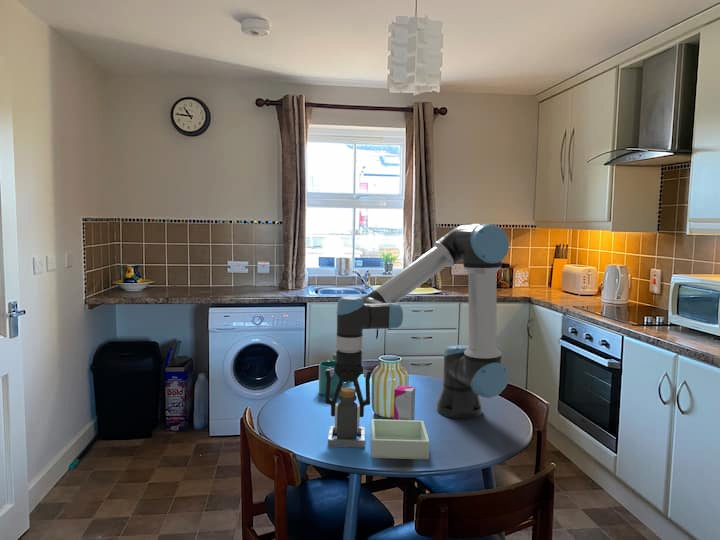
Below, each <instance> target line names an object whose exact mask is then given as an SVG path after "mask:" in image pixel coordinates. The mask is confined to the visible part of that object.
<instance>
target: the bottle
mask: <svg viewBox="0 0 720 540" xmlns="http://www.w3.org/2000/svg"><path fill="white" fill-rule="evenodd" d="M340 393H341V394H340V395H338V399H339V401H340V402H339V403H337V404H338V416H337V434H336V438H337V439H358V438H357V437H358V434H357V403H356V402H355V401H357V393H356V390H355V388H353V387H343V388H342V389H340Z"/></svg>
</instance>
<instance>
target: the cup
mask: <svg viewBox="0 0 720 540" xmlns="http://www.w3.org/2000/svg"><path fill="white" fill-rule="evenodd" d="M318 365H319V366H318V393H319V394H320V395H322V396H323V397H324V396H326V384H327V377H326V374H325V372H326V369H332V368H334V367H335V365H336V361H333V360H324V361H321V362H319V364H318ZM338 381H339V377H338V376H337V374H336V373H335V372H334V373H333V376H332V377H331V390H330V397H333V396H334V393H335V390H336V387H337V384H338ZM350 383H351V382H349V381H347V382H346V383H343V384H342V386H341V389H342V388H344V387H346V386H348V385H349V384H350ZM340 395H341V393H340V392H339V395H338V396H340Z"/></svg>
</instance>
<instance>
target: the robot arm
mask: <svg viewBox="0 0 720 540" xmlns="http://www.w3.org/2000/svg"><path fill="white" fill-rule="evenodd" d="M509 248H510V243H509V239H508V236H507V234H506V232H505V231H504V229H502V228H501V227H500V226H498V225H495V224H490V223H464V224H461V225H459V226H456V227H455V228H453V229H451V230H450V231H449V232H448V233H446V234H445V235H443V236H442V237H440V238H439V239H438V240H436V241H435V242H434V243H433V247H432V248H431V249H429V250H428V251H426V252H425V253H423V254H422V255H421V256H420V257H418V258H417V259H415V260H414V261H413V262H412V263H410V264H409V265H407V266H406V267H405V268H403V269H402V270H400V271H399V272H398V273H396V274H394V275H393V276H391V278H389V279H388V280H386V281H385V282H384V283H383V284H381V285H380V286H378V287H377V288H376V289H373V290H372V291H371V292H370V293H368V294H367V295H366V294H365V295H360V296H355V295H353V296H351V295H346V296H345V295H344V296H341V297H339V298H338V300H337V307H336V308H337V310H336V339H335V340H336V341H335V343H336V349H337V350H336V351H335V352H336V365H335V367H334V368H332V369H326V372H325V374H326V377H327V384H326V396H325V398H324V403H325V404H327V405H330V416H331V417H334V426H335V428H337V416H338V404H339V403H337V402H338V401H337V400H338V399H339V396H340V395H339V392H340V389H341V386H342V384H343V382H347V381H349V382H350V383H353V386H354V389H355V390H356V393H355V394H356V398H357V399H358V400H357V401H358V404H357V403H356V404H357V429H359V427H360V422H361V421H360V419H361V418H364V416H365V415H364V413H365V412H364V411H365V406H369V405H371V390H370V389H371V387H370V386H371V384H370V383H371V382H370V379H371V377H372V370H371V369H365V368H363V365H362V361H363V359H362V357H363V352H362V349H363V336H364V335H363V333H364V332H363V330H376V329H377V330H379V329H382V330H383V329H389V330H390V329H396V328H400V327H401V326H402V324H403V321H404V313H403V312H404V311H403V308H402V306H401V304H399V303H398V302H400V301H401V300H403V298H406V296H408V295H409V294H411V293H412V292H413V291H414V290H416V289H417V288H418V287H420V286H421V285H423V284H424V283H426V281H429V279H431V278H432V277H434V276H435V275H436V274H438V273H439V272H441V271H442V270H443V269H444V268H446V267H453V266H454V265H455V264H457V263H458V262H461V261H463V269H464V270H465V271H467V274H468V276H467V277H468V344H453V345H448V346H446V347H445V349H444V354H443V380H442V381H443V383H442V385H443V386H442V390H441V392H440V395H439V398H438V400H437V404H436V406H437V407H436V410H437V412H438V413H439V414H441V415H442V416H445V417H447V418H453V419H461V420H467V419H475V418H479V417H481V415H482V409H483V407H482V403H481V399H480V396H481V397H482V398H486V399H491V398H495V397H497V396H499V395H500V394H501V393H502V392H503V391H504V390H505V389H506V387H507V385H508V382H509V372H508V369H507V368H506V367H505V366H504V364H502V352H501V351H500V349H498V347H497V314H498V311H497V305H498V304H497V303H498V302H497V291H498V290H497V282H498V281H497V276H498V275H497V273H498V272H499V271H500V269H501V268H502V267H503V266H502V263H503V262H502V261H504V259H505V257H506V256H507V255H508V253H509V250H510V249H509ZM334 372H335V373H336V374H337V376H338V377H339V381H338V384H337V387H336V390H335V393H334V396H332V398H331V396H330V390H331V377H332V376H333V373H334ZM362 374H363V378H365V399H364V397H363V393H362V390H361V386H360V383H359V377H360V376H361V375H362ZM478 416H479V417H478Z"/></svg>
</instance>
